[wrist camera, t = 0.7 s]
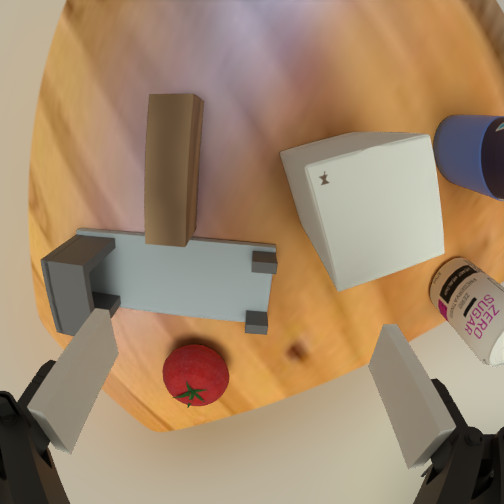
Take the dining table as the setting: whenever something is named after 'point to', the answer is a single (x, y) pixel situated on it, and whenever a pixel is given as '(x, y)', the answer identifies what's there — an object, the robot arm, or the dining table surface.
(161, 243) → the walnut slat
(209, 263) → the board
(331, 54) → the dining table surface
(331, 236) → the supplement box
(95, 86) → the dining table surface
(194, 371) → the tomato
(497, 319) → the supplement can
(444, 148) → the water bottle
